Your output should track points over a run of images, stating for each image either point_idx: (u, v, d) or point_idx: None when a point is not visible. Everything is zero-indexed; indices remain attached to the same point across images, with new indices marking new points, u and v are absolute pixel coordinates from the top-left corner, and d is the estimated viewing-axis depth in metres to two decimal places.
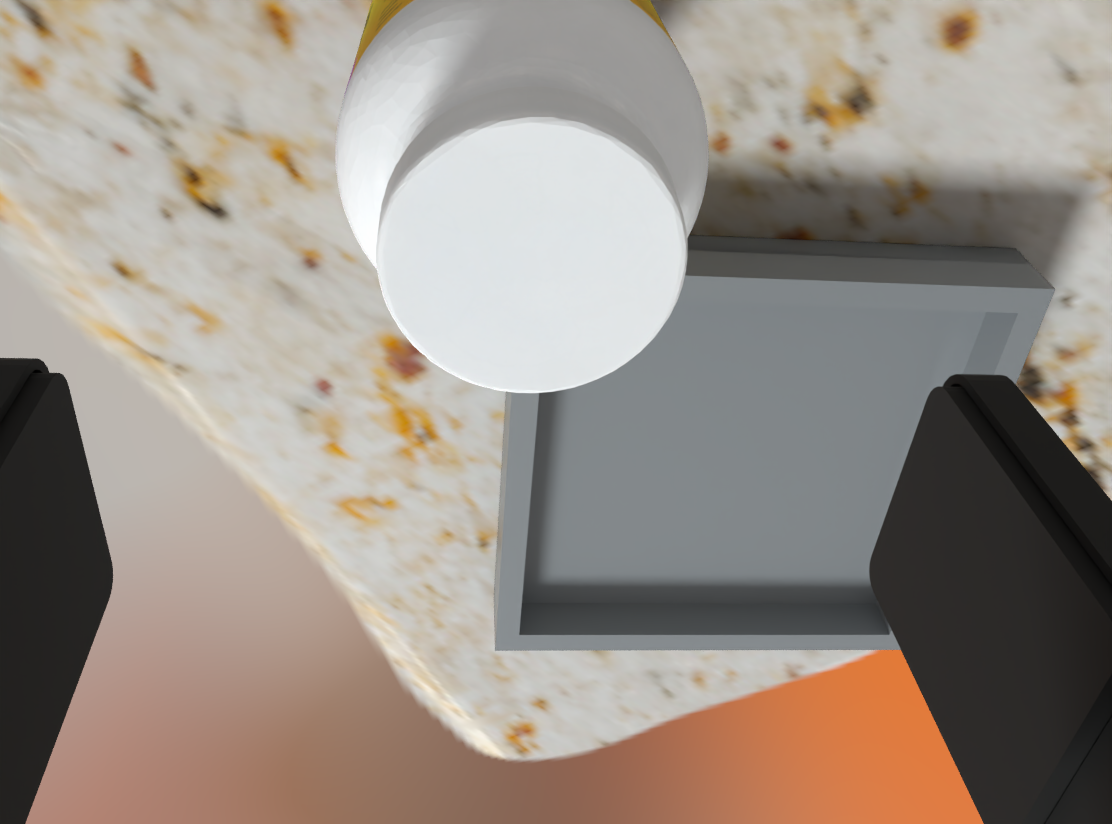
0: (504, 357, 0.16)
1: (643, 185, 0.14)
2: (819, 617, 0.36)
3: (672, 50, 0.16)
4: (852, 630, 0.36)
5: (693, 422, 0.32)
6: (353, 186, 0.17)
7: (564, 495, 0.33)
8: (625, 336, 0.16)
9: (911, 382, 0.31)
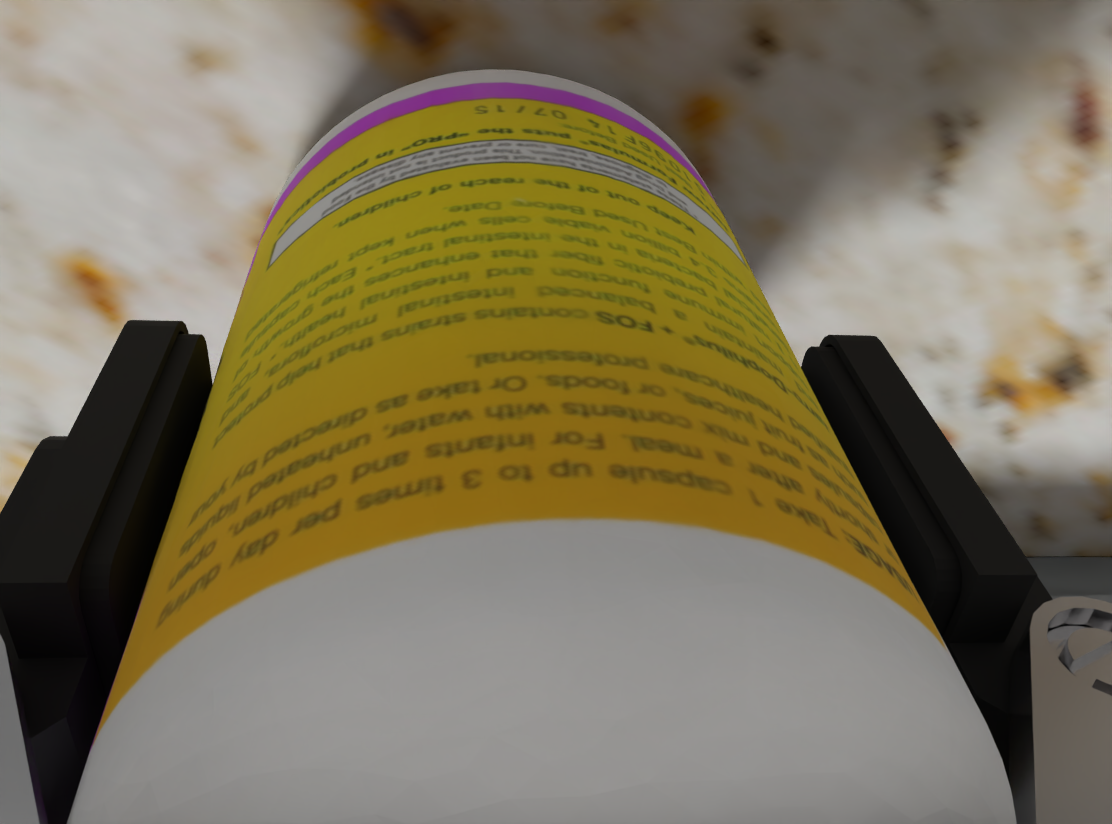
0: None
1: None
2: None
3: (964, 717, 0.06)
4: None
5: None
6: None
7: None
8: None
9: None
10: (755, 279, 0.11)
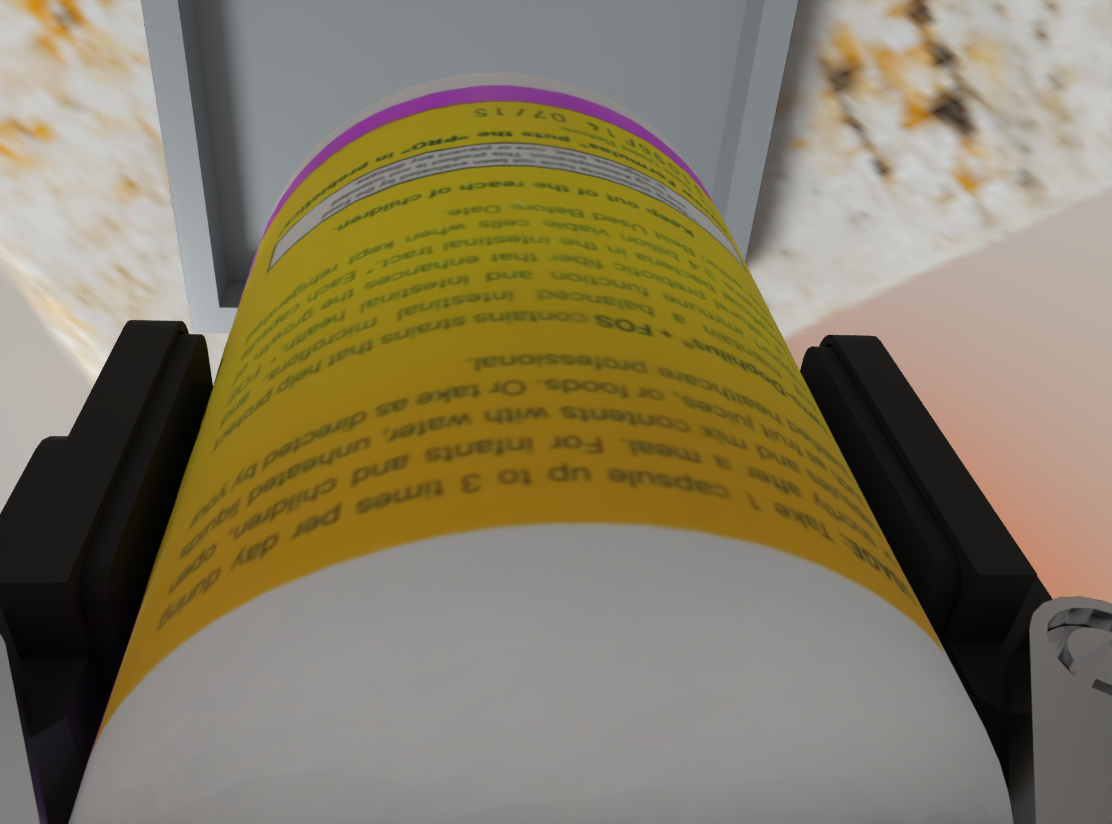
0: None
1: None
2: None
3: (962, 721, 0.06)
4: None
5: None
6: None
7: (258, 102, 0.25)
8: None
9: None
10: (754, 282, 0.11)
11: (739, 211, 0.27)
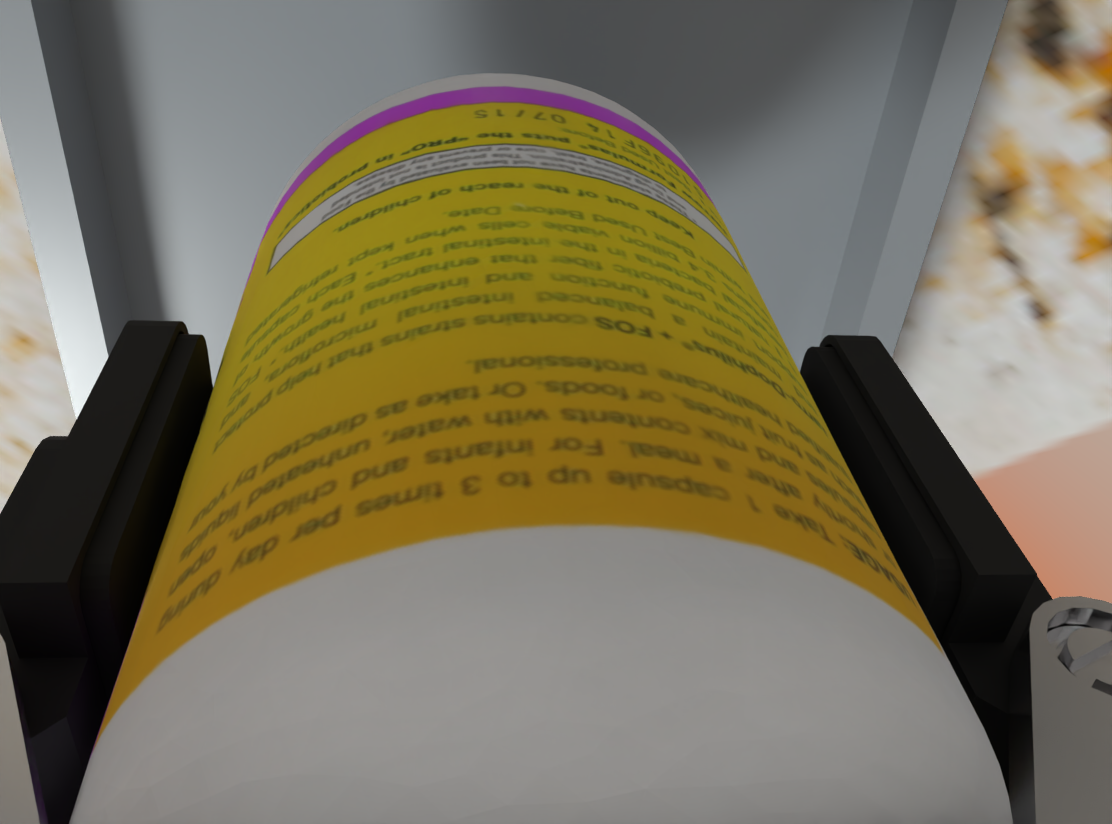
0: None
1: None
2: None
3: (961, 723, 0.06)
4: None
5: (406, 81, 0.17)
6: None
7: (190, 244, 0.18)
8: None
9: None
10: (754, 283, 0.11)
11: None
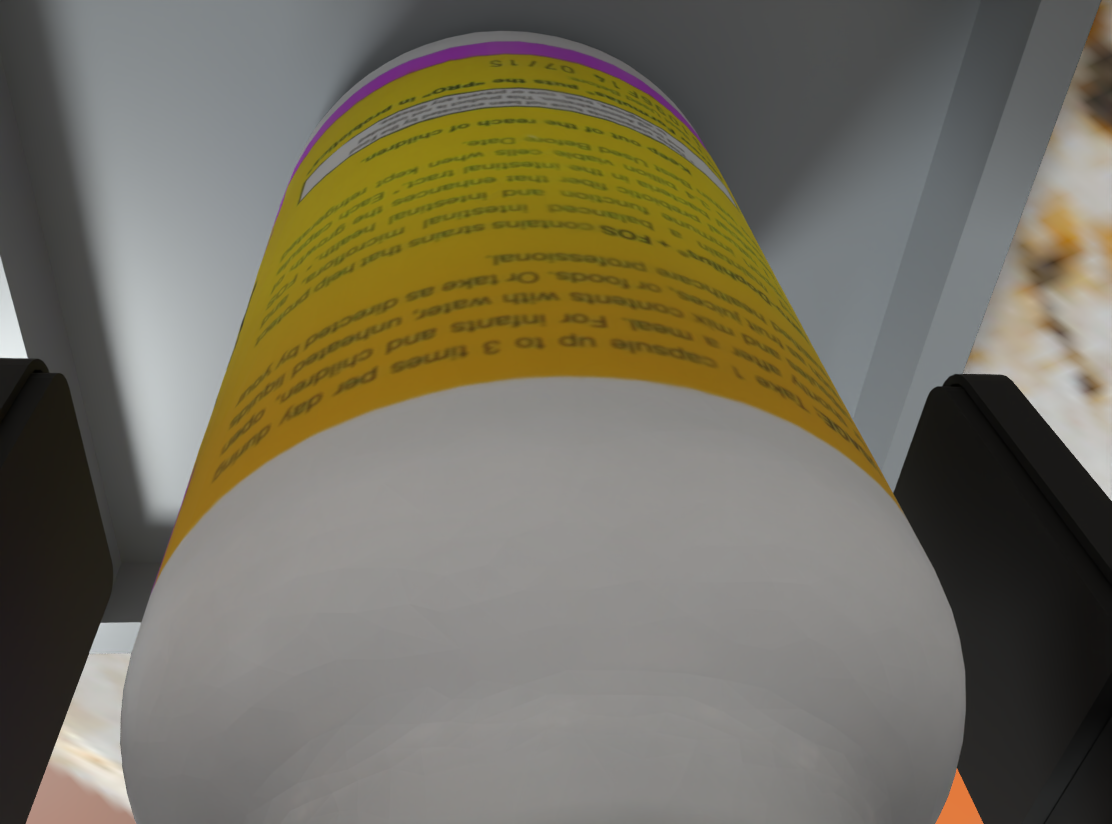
0: None
1: None
2: None
3: (916, 561, 0.07)
4: None
5: None
6: None
7: (149, 329, 0.16)
8: None
9: (859, 54, 0.14)
10: (746, 222, 0.12)
11: None
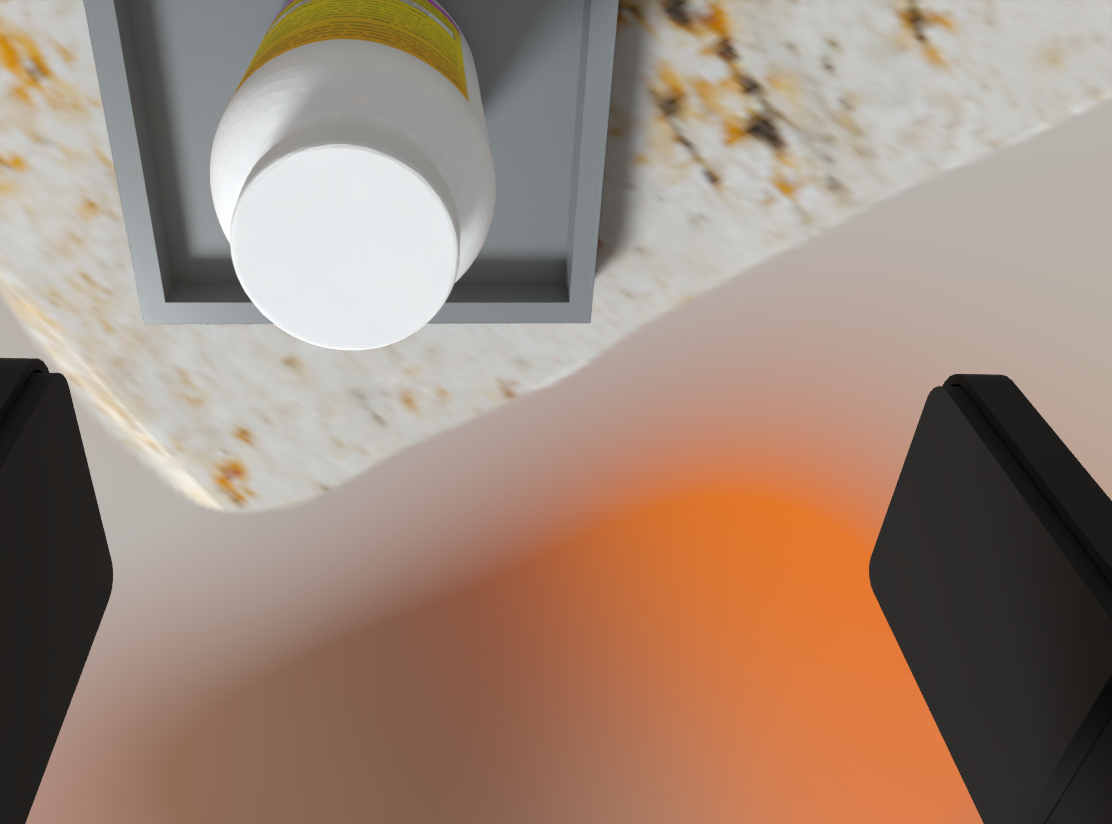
0: (332, 322, 0.21)
1: (418, 190, 0.20)
2: (499, 291, 0.35)
3: (456, 98, 0.22)
4: (531, 300, 0.34)
5: None
6: (222, 201, 0.22)
7: (192, 135, 0.31)
8: (420, 304, 0.21)
9: None
10: (458, 44, 0.27)
11: (587, 213, 0.33)
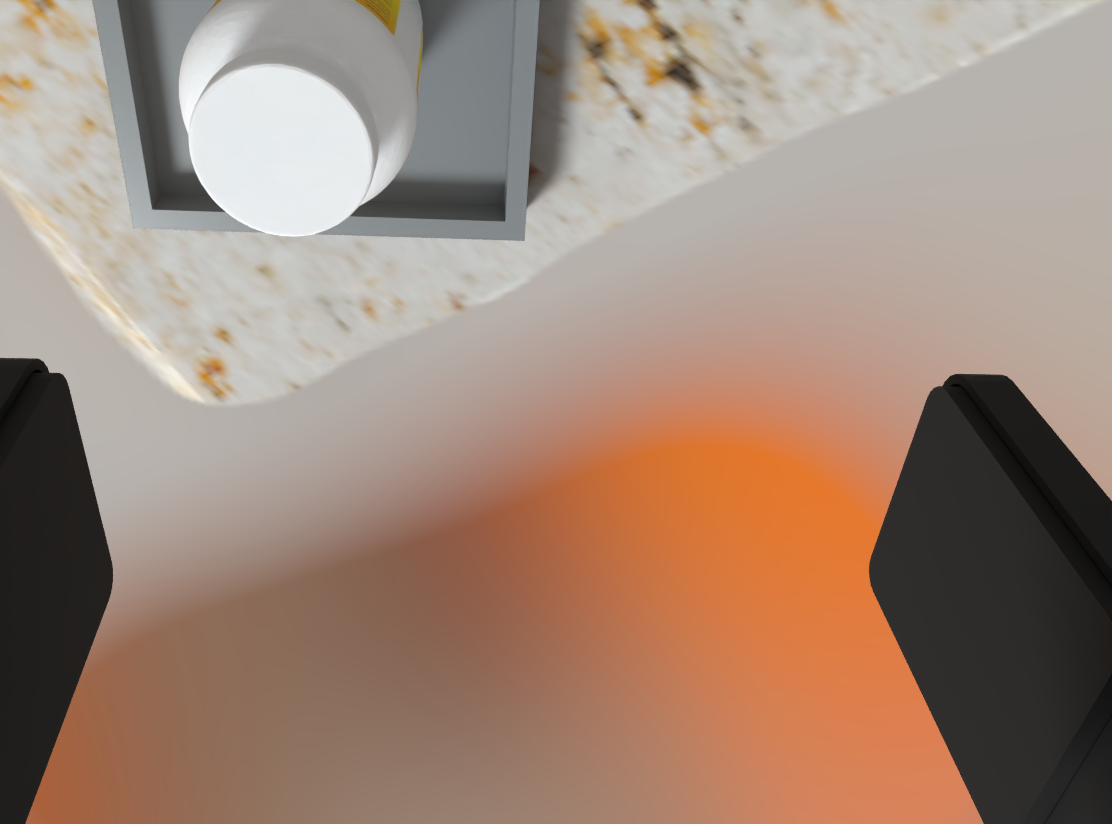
0: (271, 211, 0.26)
1: (338, 104, 0.25)
2: (444, 210, 0.40)
3: (380, 31, 0.27)
4: (471, 218, 0.39)
5: None
6: (188, 112, 0.27)
7: (176, 62, 0.36)
8: (343, 199, 0.26)
9: None
10: None
11: (519, 142, 0.38)
